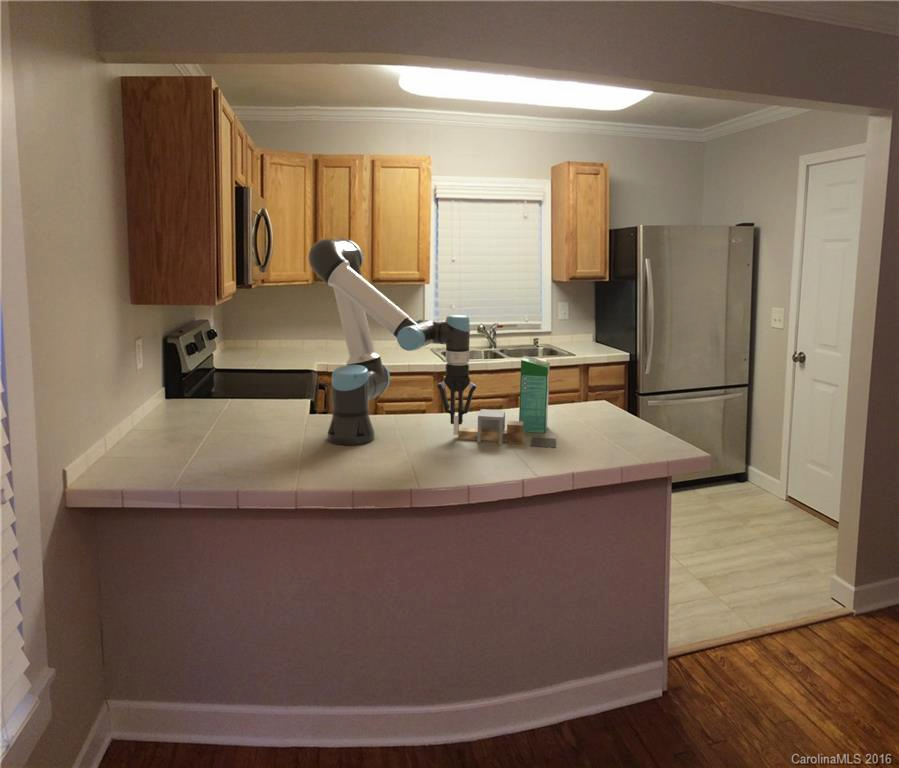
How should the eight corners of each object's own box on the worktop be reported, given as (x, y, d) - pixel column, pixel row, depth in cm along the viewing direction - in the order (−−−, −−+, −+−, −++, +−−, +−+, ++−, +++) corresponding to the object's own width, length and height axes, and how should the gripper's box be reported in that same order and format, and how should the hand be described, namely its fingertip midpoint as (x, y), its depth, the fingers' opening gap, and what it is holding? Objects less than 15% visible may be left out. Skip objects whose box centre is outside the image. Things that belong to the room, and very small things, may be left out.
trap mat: (530, 446, 228) (530, 445, 228) (531, 437, 238) (531, 437, 238) (555, 447, 227) (555, 447, 227) (556, 439, 237) (556, 438, 237)
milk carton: (545, 433, 243) (548, 360, 238) (518, 431, 245) (521, 359, 240) (547, 426, 252) (550, 356, 247) (521, 424, 254) (523, 354, 248)
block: (506, 442, 232) (507, 424, 231) (507, 438, 237) (508, 420, 236) (522, 443, 232) (522, 425, 230) (522, 439, 236) (523, 421, 235)
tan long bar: (458, 439, 236) (458, 430, 235) (459, 436, 240) (460, 427, 239) (506, 442, 234) (507, 433, 233) (507, 439, 237) (508, 430, 237)
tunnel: (477, 442, 231) (477, 415, 229) (480, 435, 240) (481, 409, 238) (502, 444, 230) (502, 417, 228) (504, 436, 239) (505, 410, 237)
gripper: (435, 364, 229) (434, 435, 234) (476, 366, 227) (474, 437, 232) (439, 360, 236) (438, 429, 241) (478, 361, 234) (477, 431, 239)
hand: (456, 433), depth 236 cm, fingers closed
